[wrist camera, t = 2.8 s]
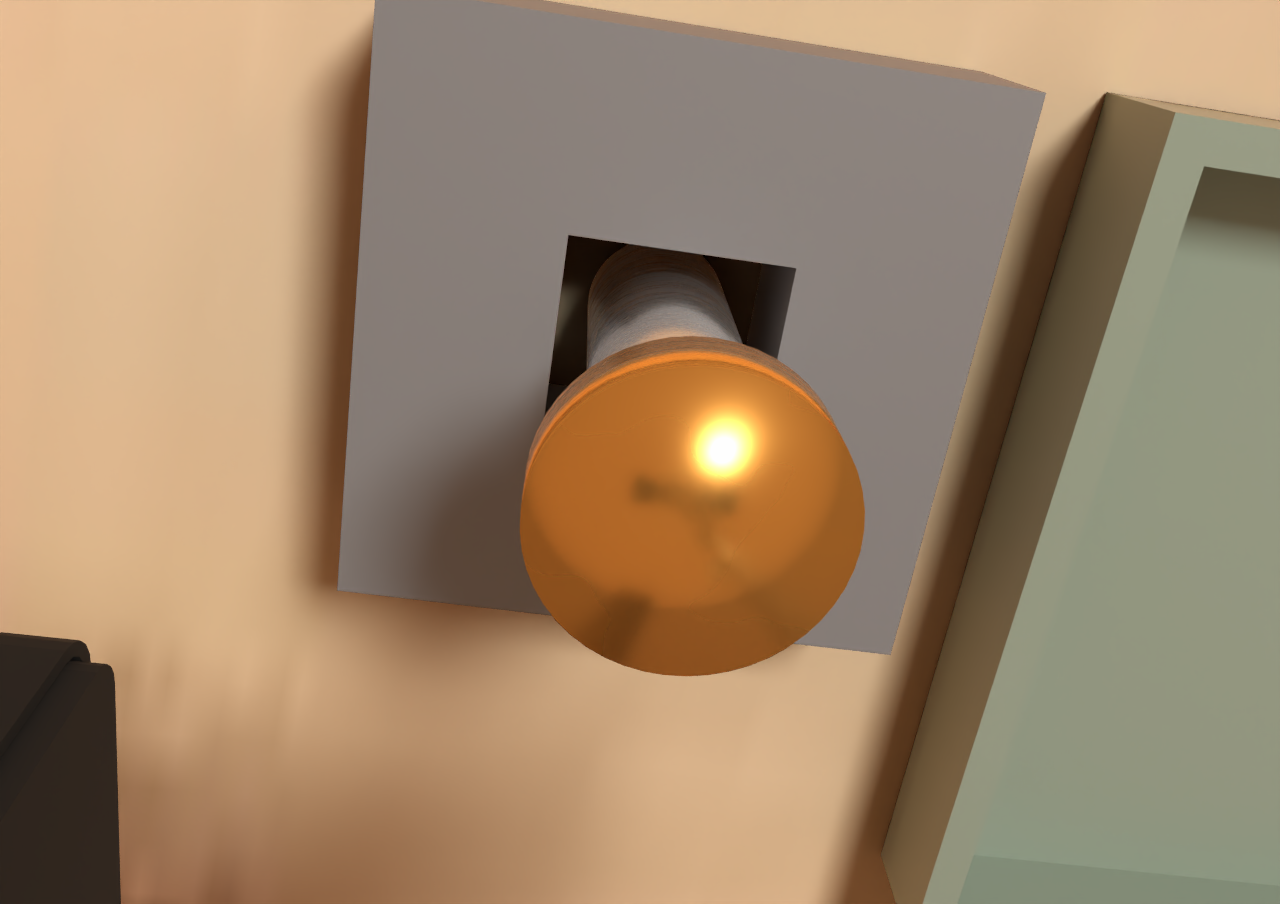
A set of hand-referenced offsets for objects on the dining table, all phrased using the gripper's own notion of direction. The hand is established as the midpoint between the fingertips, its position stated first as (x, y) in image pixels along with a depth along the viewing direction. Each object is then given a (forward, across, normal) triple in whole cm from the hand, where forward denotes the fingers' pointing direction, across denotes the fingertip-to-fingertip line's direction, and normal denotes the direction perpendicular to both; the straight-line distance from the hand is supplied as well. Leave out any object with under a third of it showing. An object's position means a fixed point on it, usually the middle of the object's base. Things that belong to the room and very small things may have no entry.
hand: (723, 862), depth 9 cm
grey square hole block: (+17, 0, +1) cm, 17 cm away
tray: (+16, -16, +5) cm, 24 cm away
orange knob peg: (+17, 0, +1) cm, 17 cm away
